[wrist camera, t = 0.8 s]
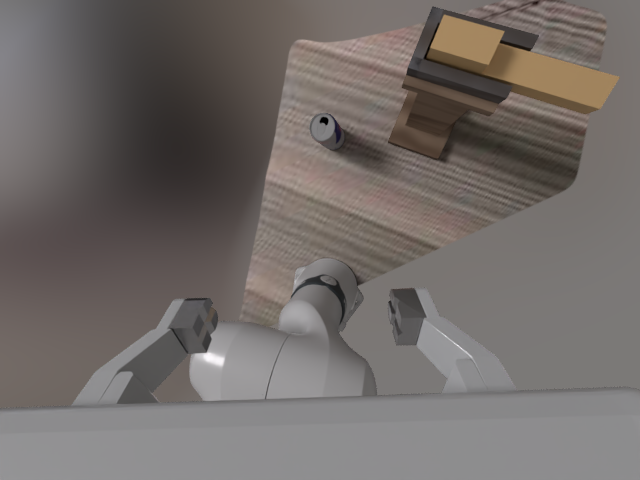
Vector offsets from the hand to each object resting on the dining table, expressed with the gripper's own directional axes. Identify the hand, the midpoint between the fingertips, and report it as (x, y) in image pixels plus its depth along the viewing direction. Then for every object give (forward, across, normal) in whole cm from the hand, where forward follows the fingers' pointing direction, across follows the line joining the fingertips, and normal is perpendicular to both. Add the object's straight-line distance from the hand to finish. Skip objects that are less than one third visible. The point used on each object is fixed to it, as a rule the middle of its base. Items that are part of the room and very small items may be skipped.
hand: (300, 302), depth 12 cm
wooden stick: (+26, +22, +6) cm, 35 cm away
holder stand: (+51, +24, -3) cm, 57 cm away
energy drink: (+55, +4, -7) cm, 55 cm away
